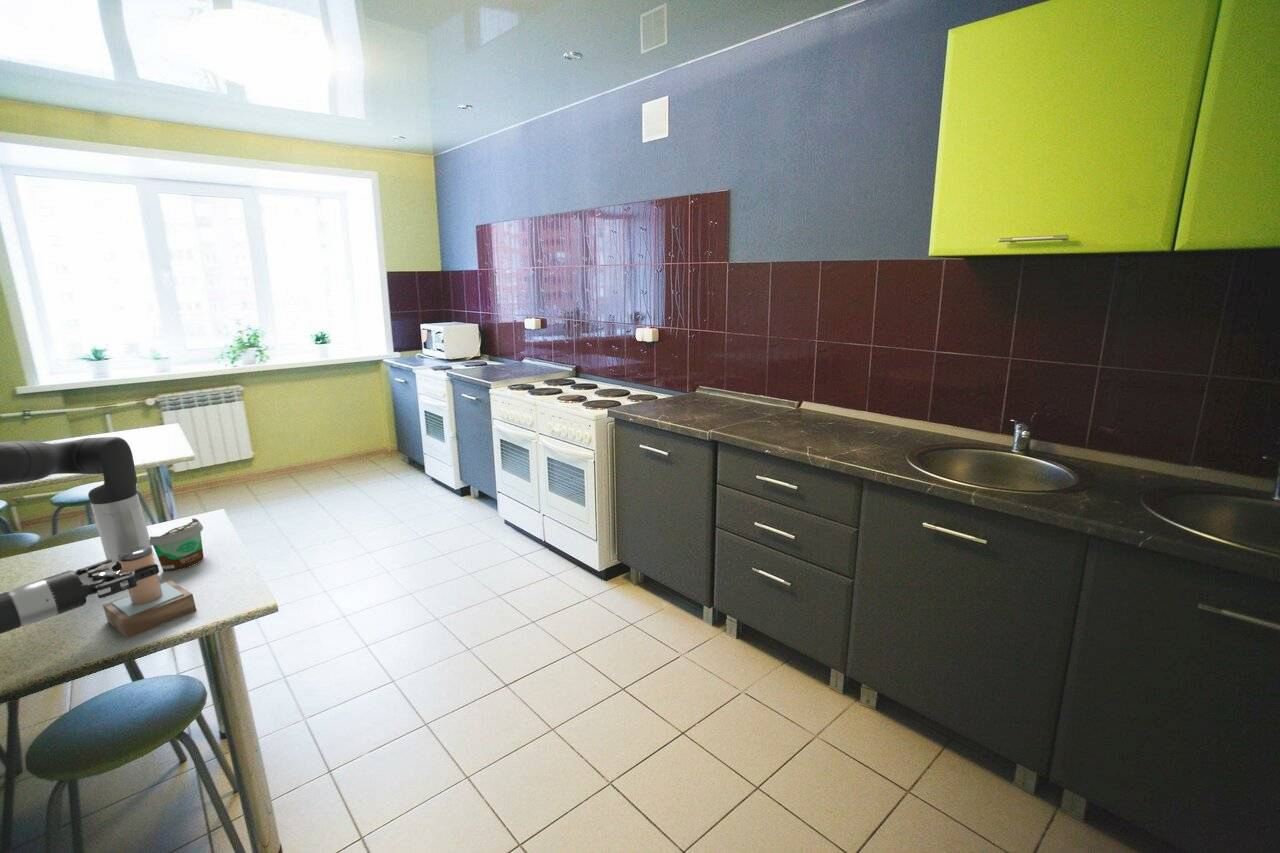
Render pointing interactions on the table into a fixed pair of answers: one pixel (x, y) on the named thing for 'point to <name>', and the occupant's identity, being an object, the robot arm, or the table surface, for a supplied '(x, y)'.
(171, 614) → the walnut riser
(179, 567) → the food container
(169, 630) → the table surface
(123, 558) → the terracotta canister
